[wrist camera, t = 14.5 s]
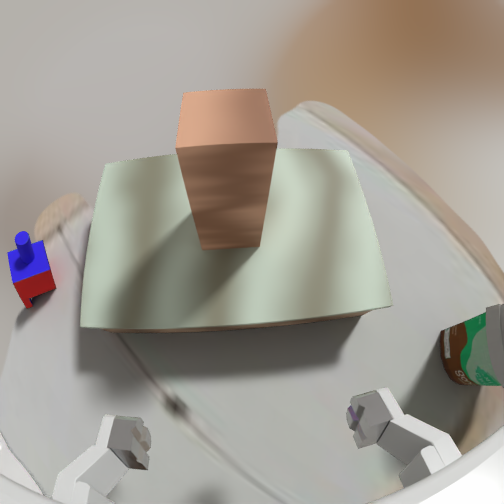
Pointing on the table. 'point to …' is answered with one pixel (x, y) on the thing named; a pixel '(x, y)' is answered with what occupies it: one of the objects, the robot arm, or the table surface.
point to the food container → (475, 349)
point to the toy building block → (30, 268)
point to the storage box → (231, 252)
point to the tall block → (227, 164)
